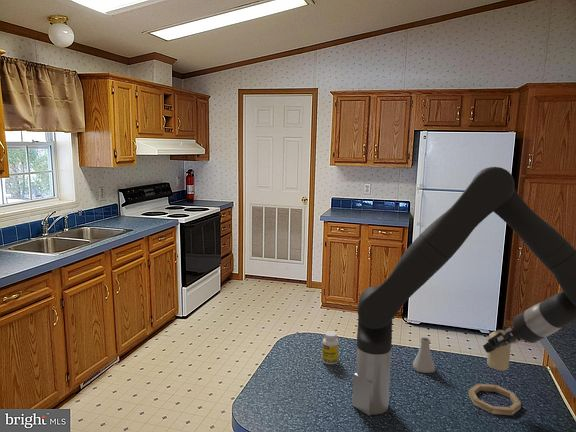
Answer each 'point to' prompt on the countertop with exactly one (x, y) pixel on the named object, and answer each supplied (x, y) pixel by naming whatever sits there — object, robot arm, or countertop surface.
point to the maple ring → (490, 408)
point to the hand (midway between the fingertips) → (493, 347)
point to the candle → (499, 355)
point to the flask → (424, 358)
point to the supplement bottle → (330, 348)
